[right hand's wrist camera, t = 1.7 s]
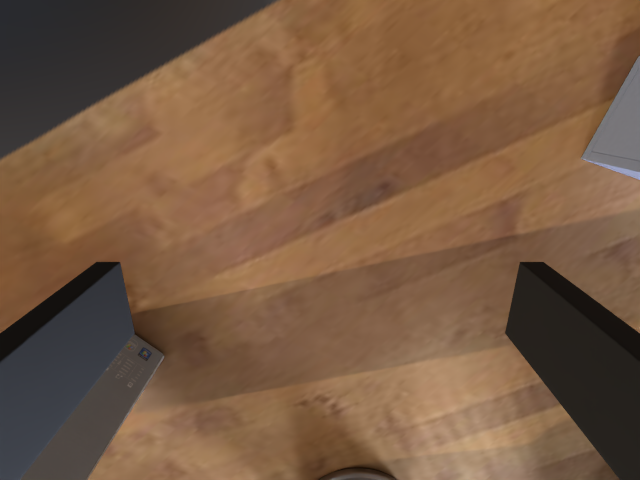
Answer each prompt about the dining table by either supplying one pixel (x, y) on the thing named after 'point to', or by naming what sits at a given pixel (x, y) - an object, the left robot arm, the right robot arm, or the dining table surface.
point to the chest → (620, 130)
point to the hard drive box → (97, 416)
